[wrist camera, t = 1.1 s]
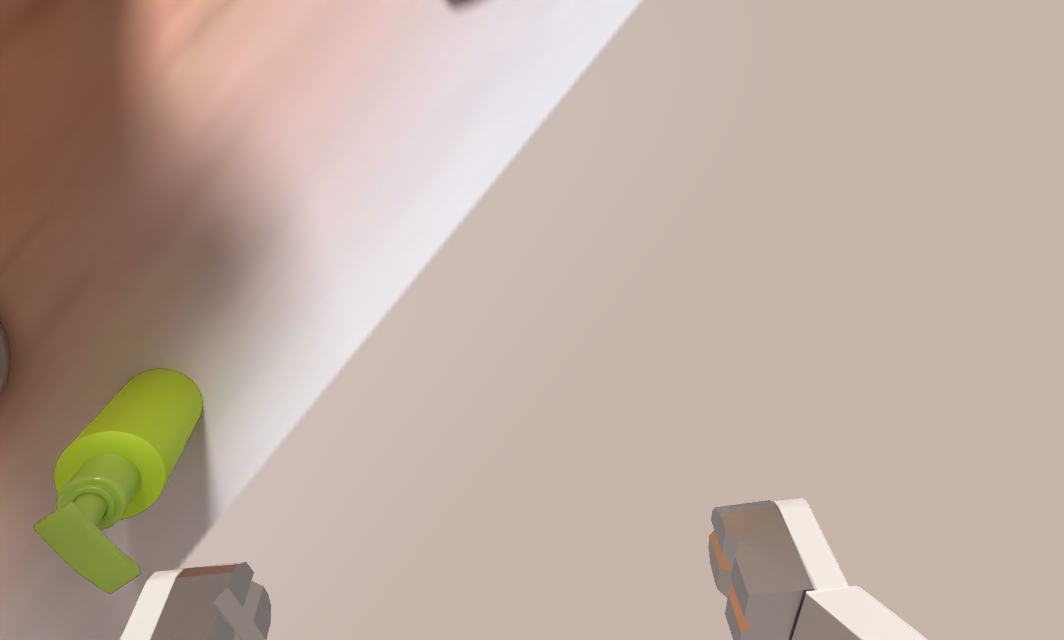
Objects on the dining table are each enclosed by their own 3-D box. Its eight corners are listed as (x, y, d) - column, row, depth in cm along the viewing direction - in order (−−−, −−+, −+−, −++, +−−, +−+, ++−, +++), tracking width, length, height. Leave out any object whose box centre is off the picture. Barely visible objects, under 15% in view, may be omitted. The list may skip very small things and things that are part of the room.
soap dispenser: (162, 461, 52) (71, 623, 33) (101, 396, 50) (-32, 531, 31) (226, 420, 53) (173, 556, 34) (170, 354, 50) (80, 461, 32)
